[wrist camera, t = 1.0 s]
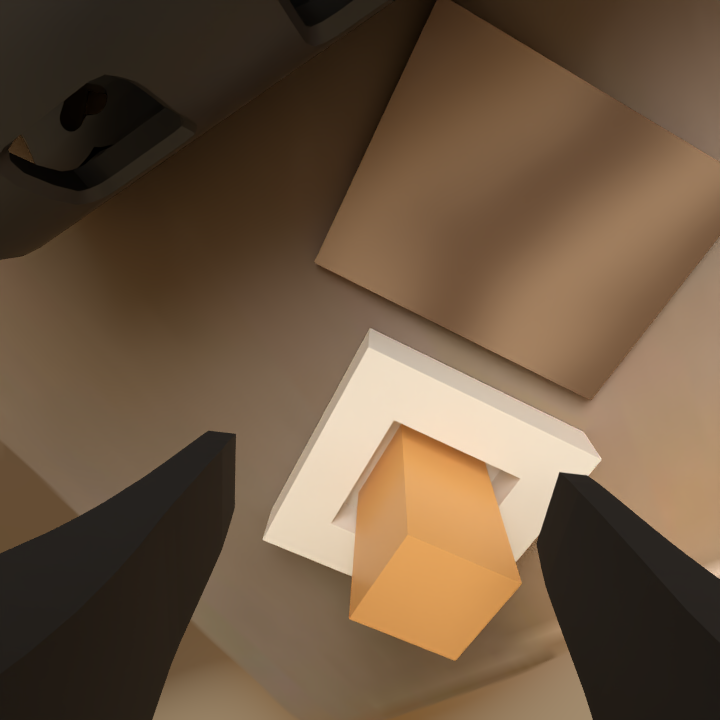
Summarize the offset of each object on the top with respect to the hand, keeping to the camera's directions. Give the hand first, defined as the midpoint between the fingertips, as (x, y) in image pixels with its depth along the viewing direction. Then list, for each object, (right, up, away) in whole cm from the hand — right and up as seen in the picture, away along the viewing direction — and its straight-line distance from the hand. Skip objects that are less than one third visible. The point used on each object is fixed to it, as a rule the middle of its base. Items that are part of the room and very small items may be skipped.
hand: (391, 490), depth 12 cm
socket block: (+2, -2, +11) cm, 12 cm away
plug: (+2, -2, +11) cm, 11 cm away
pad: (+5, +8, +7) cm, 12 cm away
